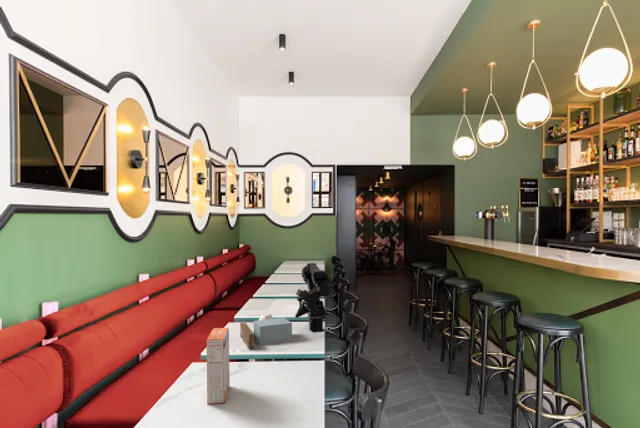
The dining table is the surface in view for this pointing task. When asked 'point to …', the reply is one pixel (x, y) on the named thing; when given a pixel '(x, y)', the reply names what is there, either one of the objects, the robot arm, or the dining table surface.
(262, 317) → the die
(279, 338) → the slate block
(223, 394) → the cracker box
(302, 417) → the dining table surface
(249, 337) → the walnut board
